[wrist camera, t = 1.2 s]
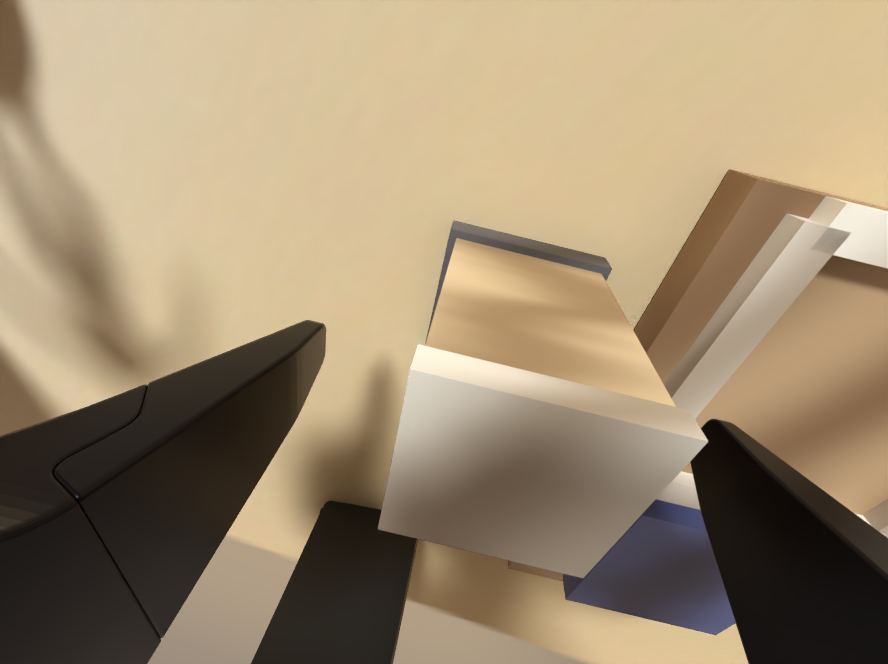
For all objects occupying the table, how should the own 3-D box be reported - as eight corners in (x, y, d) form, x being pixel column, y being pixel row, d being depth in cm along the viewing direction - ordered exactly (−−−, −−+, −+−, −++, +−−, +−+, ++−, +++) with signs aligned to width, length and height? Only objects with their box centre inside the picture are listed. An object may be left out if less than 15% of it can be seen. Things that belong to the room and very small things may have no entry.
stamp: (604, 257, 11) (720, 439, 5) (549, 373, 13) (586, 581, 7) (453, 220, 11) (404, 361, 5) (426, 343, 13) (372, 530, 7)
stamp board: (1204, 288, 9) (1383, 337, 7) (736, 597, 19) (761, 651, 17) (729, 169, 9) (788, 189, 7) (507, 542, 19) (508, 591, 17)
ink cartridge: (328, 522, 20) (239, 734, 14) (325, 497, 19) (226, 717, 12) (417, 541, 20) (371, 767, 13) (421, 517, 19) (372, 754, 12)
